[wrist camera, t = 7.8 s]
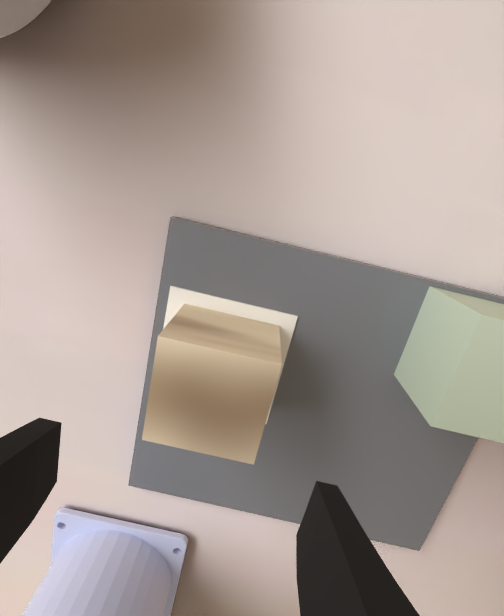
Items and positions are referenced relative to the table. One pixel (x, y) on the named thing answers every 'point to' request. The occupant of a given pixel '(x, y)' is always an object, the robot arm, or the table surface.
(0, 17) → the teacup
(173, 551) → the robot arm
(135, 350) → the table surface
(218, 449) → the maple block
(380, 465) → the baseplate
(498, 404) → the sage block
